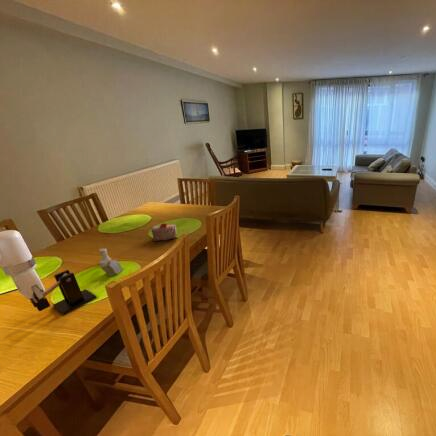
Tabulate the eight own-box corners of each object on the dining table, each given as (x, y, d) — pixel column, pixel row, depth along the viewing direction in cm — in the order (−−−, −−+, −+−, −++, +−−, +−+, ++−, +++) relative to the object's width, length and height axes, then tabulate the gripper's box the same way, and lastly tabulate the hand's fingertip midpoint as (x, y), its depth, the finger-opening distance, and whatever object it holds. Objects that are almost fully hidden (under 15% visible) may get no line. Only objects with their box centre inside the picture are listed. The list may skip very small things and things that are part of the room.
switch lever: (38, 307, 87) (30, 303, 85) (34, 304, 88) (26, 300, 86) (73, 278, 95) (67, 274, 93) (70, 276, 96) (63, 271, 94)
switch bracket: (63, 315, 92) (50, 285, 86) (53, 306, 96) (40, 278, 90) (96, 297, 100) (86, 270, 95) (86, 291, 105) (75, 264, 99)
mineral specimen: (100, 272, 116) (100, 257, 115) (122, 270, 121) (122, 255, 119) (98, 279, 110) (97, 264, 108) (120, 277, 115) (120, 262, 113)
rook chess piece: (101, 265, 123) (96, 252, 120) (102, 261, 126) (97, 248, 123) (111, 263, 125) (107, 249, 122) (112, 259, 129) (108, 246, 126)
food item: (178, 234, 157) (175, 220, 153) (177, 239, 150) (174, 225, 146) (155, 237, 153) (152, 223, 149) (153, 242, 146) (149, 228, 142)
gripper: (-5, 264, 82) (20, 305, 90) (12, 278, 75) (37, 322, 82) (25, 254, 88) (46, 293, 96) (43, 266, 81) (64, 307, 88)
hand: (42, 306), depth 89 cm, fingers closed on switch lever, 3 cm apart
